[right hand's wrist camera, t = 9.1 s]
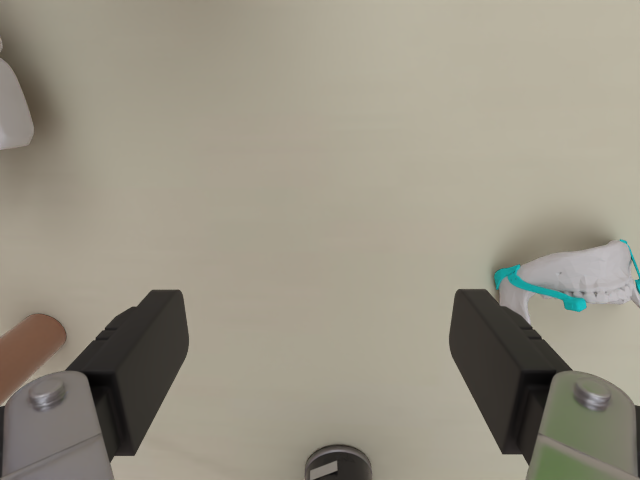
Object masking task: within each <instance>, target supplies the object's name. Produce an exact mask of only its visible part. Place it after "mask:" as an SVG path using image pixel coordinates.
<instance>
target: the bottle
mask: <svg viewBox="0 0 640 480" xmlns="http://www.w3.org/2000/svg"><path fill="white" fill-rule="evenodd" d="M65 340H66V333H65V330H64V328H63V327H62V325H61V324H60V323H59V322H58V321H57V320H55V319H54V318H52V317H50V316H47V315H43V314H34V315H30V316H28V317H26V318H25V319H24V320H22V321H21V322H20V323H18V324H17V325H16V326H14V327H13V328H12V329H10V330H9V331H8V332H6V333H5V334H4V335H2V336H1V337H0V406H1V405H2V404H3V403H4V402H5V401H6V400H7V399H8V398H9V397H10V396H11V395H12V394H13V393H14V392H15V391H16V390H17V389H18V388H19V387H20V386H21V385H22V384H23V383H24V382H26V381H27V380H28V379H29V378H30V377H31V376H32V375H33V374H34V373H35V372H36V371H37V370H38V369H39V368H40V367H41V366H42V365H43V364H44V363H45V362H46V361H47V360H48V359H49V358H50V357H51V356H52V355H53V354H54V353H55V352H57V351H58V350H59V349H60V348H61V347H62V346H63V344H64V343H65Z"/></svg>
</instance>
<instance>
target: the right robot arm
mask: <svg viewBox="0 0 640 480" xmlns="http://www.w3.org/2000/svg"><path fill="white" fill-rule="evenodd" d="M449 345H450V351H451V355H452V357H453V359H454V361H455V363H456V365H457V367H458V369H459V371H460V373H461V375H462V377H463V379H464V380H465V382H466V384H467V386H468V388H469V390H470V392H471V394H472V396H473V398H474V400H475V402H476V404H477V406H478V408H479V410H480V411H481V413H482V415H483V417H484V419H485V421H486V423H487V425H488V427H489V429H490V431H491V433H492V435H493V437H494V439H495V441H496V443H497V444H498V446H499V448H500V450H501V452H502V454H523V456H524V458H525V460H526V461H527V463H528V465H529V469H528V472H527V476H526V480H640V406H636V405H634V403H633V401H632V400H631V399H630V397H629V396H628V395H627V394H626V393H625V392H623V391H622V390H621V389H620V388H618V387H617V386H615V385H614V384H612V383H610V382H608V381H607V380H604V379H602V378H600V377H597V376H595V375H592V374H588V373H584V372H579V371H573V370H572V369H571V368H570V367H569V366H568V365H567V364H566V363H565V362H564V360H563V359H562V358H561V357H560V356H559V355H558V354H557V353H556V352H555V351H554V350H553V349H552V348H551V347H550V346H549V344H548V343H547V342H546V341H545V340H544V339H542V338H541V336H540V335H539V334H538V333H537V332H536V331H535V330H533V329H532V326H531V325H530V324H529V323H528V322H527V321H526V320H525V319H524V318H523V317H522V316H521V315H519V314H518V313H516V312H514V311H513V310H511V309H509V308H508V307H506V306H500V305H499V304H498V302H497V301H496V300H495V299H494V298H493V297H492V296H491V294H490V293H489V292H488V291H487V290H485V289H459V290H457V292H456V294H455V298H454V305H453V312H452V319H451V326H450V334H449ZM188 346H189V334H188V327H187V320H186V313H185V306H184V299H183V295H182V292H181V291H180V290H152V291H150V292H149V294H148V295H147V296H146V297H145V298H144V299H143V300H142V301H141V303H140V304H139V305H138V306H137V307H131V308H129V309H128V310H126V311H124V312H123V313H121V314H119V315H118V316H116V317H115V318H114V319H113V320H112V321H111V322H110V323H109V324H108V325H107V326H106V327H105V330H103V331H102V332H101V333H100V334H99V335H98V336H97V337H96V340H93V341H92V342H91V343H90V344H89V345H88V347H87V348H86V349H85V350H84V351H83V352H82V353H81V354H80V355H79V356H78V357H77V358H76V359H75V360H74V361H73V362H72V363H71V365H70V366H69V367H68V368H67V369H66V370H65V371H61V372H56V373H52V374H48V375H45V376H43V377H40V378H38V379H36V380H33V381H32V382H30V383H28V384H26V385H25V386H23V387H22V388H20V389H19V390H18V391H17V392H15V393H14V394H13V395H12V396H11V397H10V399H9V400H8V401H7V403H6V405H5V406H2V407H0V480H114V476H113V472H112V469H111V465H110V462H111V461H112V459H113V457H114V456H135V454H136V452H137V450H138V448H139V446H140V444H141V442H142V440H143V438H144V436H145V435H146V433H147V431H148V429H149V427H150V425H151V423H152V421H153V419H154V417H155V415H156V413H157V412H158V410H159V408H160V406H161V404H162V402H163V400H164V398H165V396H166V394H167V392H168V390H169V389H170V387H171V385H172V383H173V381H174V379H175V377H176V375H177V373H178V371H179V369H180V367H181V366H182V364H183V362H184V360H185V358H186V355H187V352H188ZM305 480H372V470H371V464H370V461H369V460H368V458H367V457H366V456H365V455H364V454H363V453H362V452H360V451H359V450H357V449H354V448H352V447H348V446H330V447H326V448H323V449H321V450H319V451H317V452H315V453H314V454H313V455H312V456H311V457H310V458H309V459H308V461H307V463H306V466H305Z"/></svg>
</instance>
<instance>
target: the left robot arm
mask: <svg viewBox="0 0 640 480" xmlns="http://www.w3.org/2000/svg"><path fill="white" fill-rule="evenodd" d="M2 48H3V45H2V40H1V37H0V52H1V51H2ZM33 134H34V126H33V122H32V118H31V115H30V111H29V108H28V105H27V102H26V100H25V97H24V94H23V91H22V89H21V86H20V84H19V82H18V79H17V77H16V75H15V73H14V72H13V70H12V68H11V67H10V66H9V65H8V63H7V62H5V61H4V60H3V59H2V58H0V150H3V149H10V148H17V147H22V146H27V145H29V144H30V142H31V139H32V137H33Z"/></svg>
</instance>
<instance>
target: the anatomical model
mask: <svg viewBox="0 0 640 480" xmlns="http://www.w3.org/2000/svg"><path fill="white" fill-rule="evenodd" d="M631 259H632V261H633V263H634V266H635V268H636V271H637V273H638V276H639V279H638V280H635V282H636V287H635V284H634V282H633V279H632V276H631ZM494 279H495V283H496V290H498V289H499V294H500V302H499V305H500V306H506V307H508V308H509V309H511V310H513V311H514V312H516V313H518V314H519V315H521V316H522V317H523V318H524V319H525V320H526V321H527V322H528V323H529V324H530V325H531V322H530V316H529V313H528V300H529V298H530V297H532V296H533V295H534V294H536V293H539V294H540V295H541V296H542V297H543V299H550V298H553V297H554V298H555V299H561V300H563V302H564V306H565V309H567V310H573V311H577V312H580V311H582V310H584V309H585V308H586V307H587V306H586V302H587V303H592V304H595V303H599V304H604V303H610V304H623V303H626V302H628V301H630V300H632V301H633V302H634V303H635V304H636V305H637V306H638V307H639V308H640V296H639V294H640V273H639V270H638V267H637V265H636V262H635V260H634V257H633V255H632V252H631V249H630V247H629V246H628V245H627V242H626V241H624V240H620V241H618V240H612V241H610V242H609V243H608V244H607V245H602V246H598V247H594V248H590V249H586V250H581V251H571V252H558V253H553V254H549V255H546V256H543V257H539V258H537V259H535V260H532V261H530V262H528V263H526V264H523V265H521V266H520V264H519V265H516V266H513V267H510V268H503V269H500V270H498V271H497V272H496V273H495V275H494ZM636 288H637V289H636ZM595 293H596V295H595ZM585 301H586V302H585Z"/></svg>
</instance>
